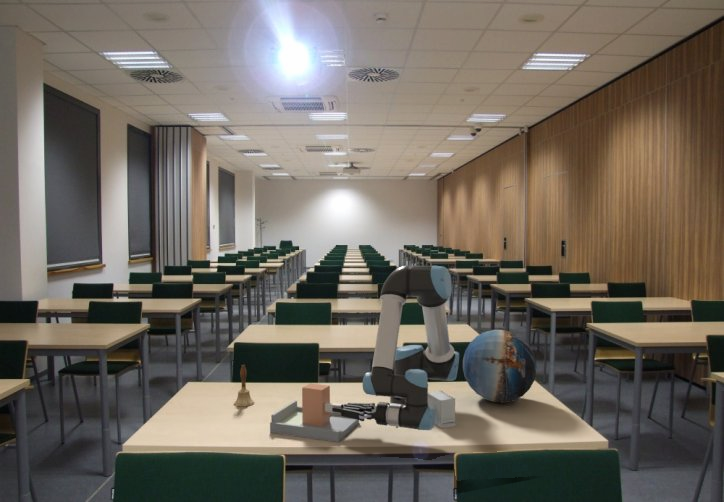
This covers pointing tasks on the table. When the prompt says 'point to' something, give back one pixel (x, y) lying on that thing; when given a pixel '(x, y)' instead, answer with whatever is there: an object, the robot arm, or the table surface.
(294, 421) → the tray
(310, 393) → the terracotta brick
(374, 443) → the table surface
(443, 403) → the skincare box
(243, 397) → the hand bell
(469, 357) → the decorative globe
